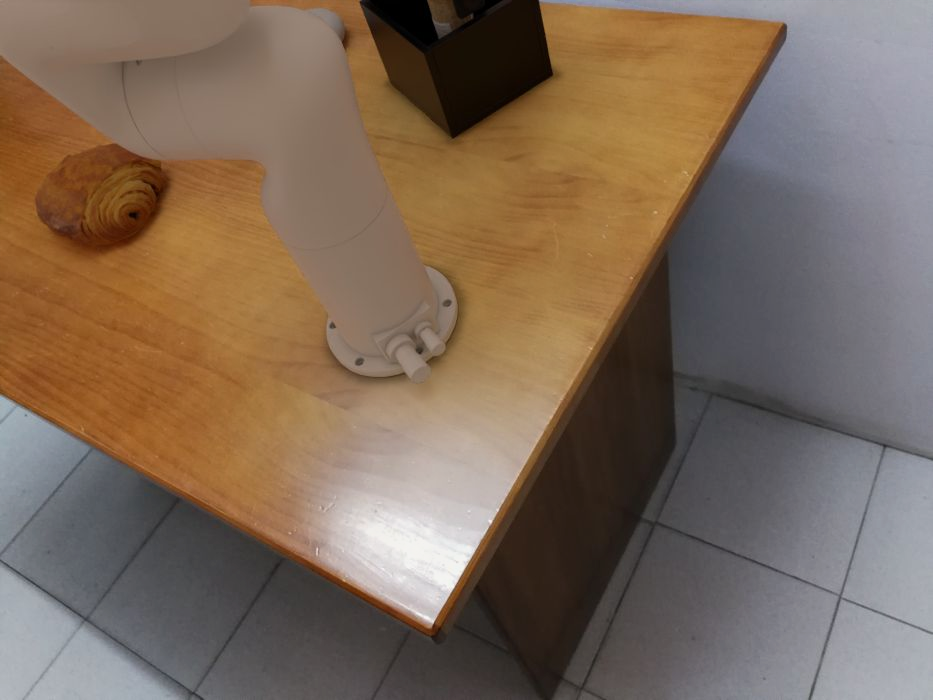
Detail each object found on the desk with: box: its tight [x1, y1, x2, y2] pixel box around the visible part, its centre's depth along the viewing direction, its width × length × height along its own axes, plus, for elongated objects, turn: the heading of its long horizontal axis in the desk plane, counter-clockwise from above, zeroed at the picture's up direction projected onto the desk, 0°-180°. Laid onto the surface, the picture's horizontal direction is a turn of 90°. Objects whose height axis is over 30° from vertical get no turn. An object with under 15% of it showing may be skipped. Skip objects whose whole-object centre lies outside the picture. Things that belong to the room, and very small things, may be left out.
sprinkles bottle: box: [427, 0, 474, 39], centre depth 86 cm, size 5×5×13 cm
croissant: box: [34, 142, 166, 246], centre depth 93 cm, size 14×16×8 cm
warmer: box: [358, 0, 554, 139], centre depth 88 cm, size 15×14×11 cm
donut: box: [304, 7, 346, 43], centre depth 103 cm, size 10×3×10 cm
